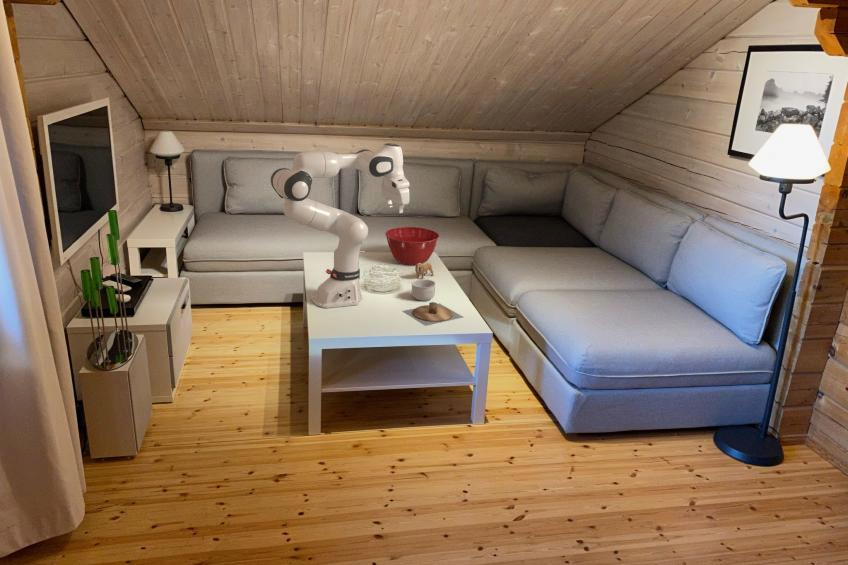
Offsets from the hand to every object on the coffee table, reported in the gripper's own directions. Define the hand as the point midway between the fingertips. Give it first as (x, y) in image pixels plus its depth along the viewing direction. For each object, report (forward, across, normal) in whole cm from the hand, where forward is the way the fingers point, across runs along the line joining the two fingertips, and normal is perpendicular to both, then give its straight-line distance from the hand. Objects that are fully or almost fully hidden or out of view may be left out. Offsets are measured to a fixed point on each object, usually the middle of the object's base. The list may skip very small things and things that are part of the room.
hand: (395, 210), depth 300 cm
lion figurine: (+41, -10, +19) cm, 47 cm away
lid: (+38, +34, -2) cm, 51 cm away
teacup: (+40, +14, +5) cm, 42 cm away
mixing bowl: (+42, -35, +26) cm, 61 cm away
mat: (+38, +34, -2) cm, 51 cm away
